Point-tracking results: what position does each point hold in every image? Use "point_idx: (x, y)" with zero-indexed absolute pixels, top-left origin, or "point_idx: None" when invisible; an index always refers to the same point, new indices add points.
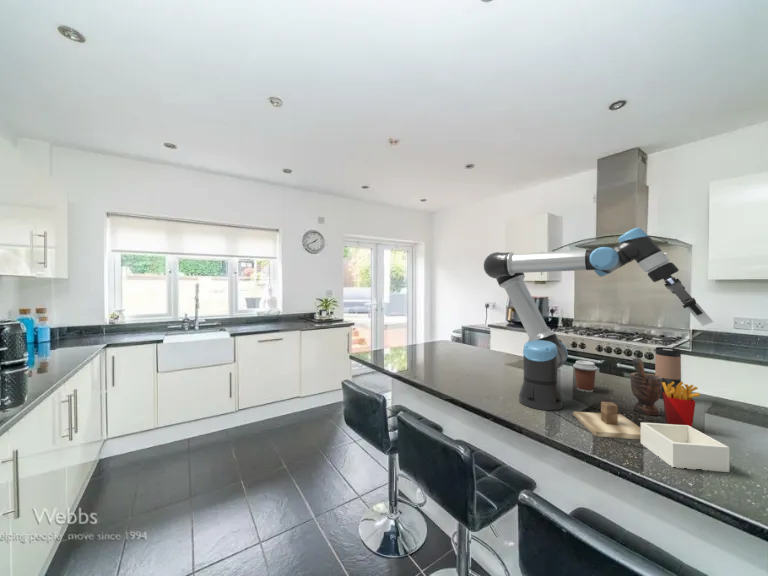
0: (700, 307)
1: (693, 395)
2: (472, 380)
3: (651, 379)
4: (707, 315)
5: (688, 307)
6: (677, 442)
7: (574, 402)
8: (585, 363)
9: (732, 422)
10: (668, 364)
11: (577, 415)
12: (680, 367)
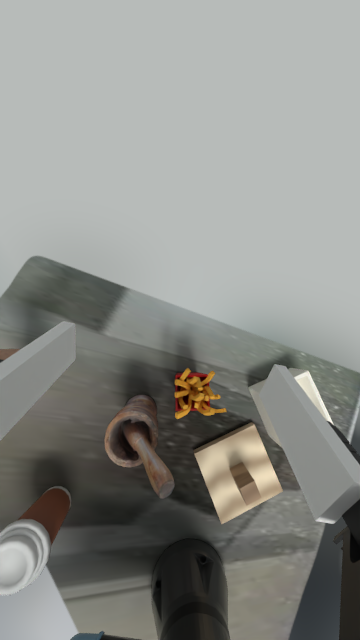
0: (343, 445)
1: (210, 378)
2: None
3: (157, 432)
4: (305, 394)
5: (334, 513)
6: (328, 419)
7: (152, 519)
8: (26, 566)
9: (128, 313)
10: None
11: (234, 516)
12: (5, 352)
